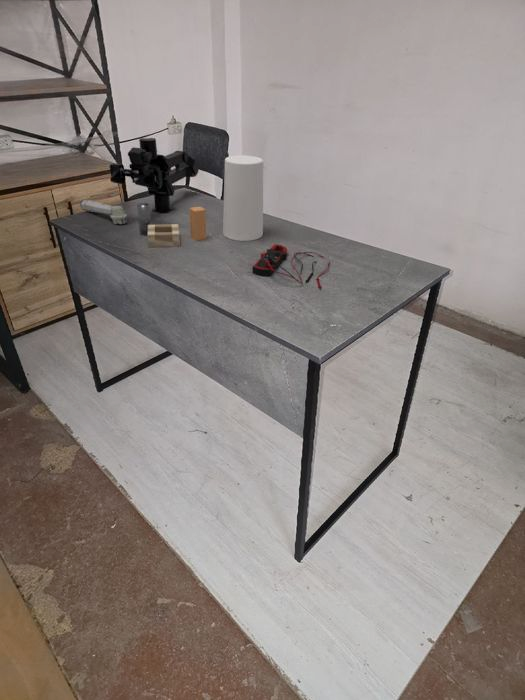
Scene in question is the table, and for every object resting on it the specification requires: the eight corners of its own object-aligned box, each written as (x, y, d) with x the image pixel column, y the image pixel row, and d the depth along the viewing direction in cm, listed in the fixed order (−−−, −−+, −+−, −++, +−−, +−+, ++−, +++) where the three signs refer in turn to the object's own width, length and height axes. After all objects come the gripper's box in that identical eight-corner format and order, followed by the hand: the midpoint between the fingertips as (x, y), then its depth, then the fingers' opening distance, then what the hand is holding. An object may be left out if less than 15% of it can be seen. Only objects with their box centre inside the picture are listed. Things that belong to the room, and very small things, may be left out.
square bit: (190, 237, 159) (189, 207, 154) (201, 235, 161) (200, 206, 155) (195, 240, 156) (194, 211, 151) (206, 239, 158) (205, 209, 153)
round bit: (143, 231, 162) (140, 202, 157) (154, 232, 161) (151, 203, 156) (138, 234, 159) (134, 205, 154) (148, 236, 158) (145, 207, 153)
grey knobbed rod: (89, 198, 180) (127, 203, 165) (93, 215, 183) (131, 221, 168) (77, 200, 176) (115, 206, 162) (81, 218, 179) (119, 225, 165)
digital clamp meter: (242, 264, 132) (271, 236, 151) (242, 279, 134) (270, 249, 154) (322, 279, 125) (341, 247, 145) (321, 293, 128) (339, 261, 148)
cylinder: (256, 165, 142) (215, 160, 146) (254, 243, 156) (216, 237, 160) (271, 157, 153) (232, 152, 157) (268, 230, 167) (232, 225, 171)
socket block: (149, 236, 158) (148, 224, 156) (178, 235, 160) (178, 224, 158) (148, 247, 150) (147, 235, 148) (179, 246, 152) (179, 234, 150)
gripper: (120, 144, 163) (94, 152, 151) (168, 149, 159) (145, 158, 146) (124, 177, 169) (100, 187, 157) (170, 182, 165) (149, 194, 153)
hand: (123, 181), depth 153 cm, fingers open, 9 cm apart
